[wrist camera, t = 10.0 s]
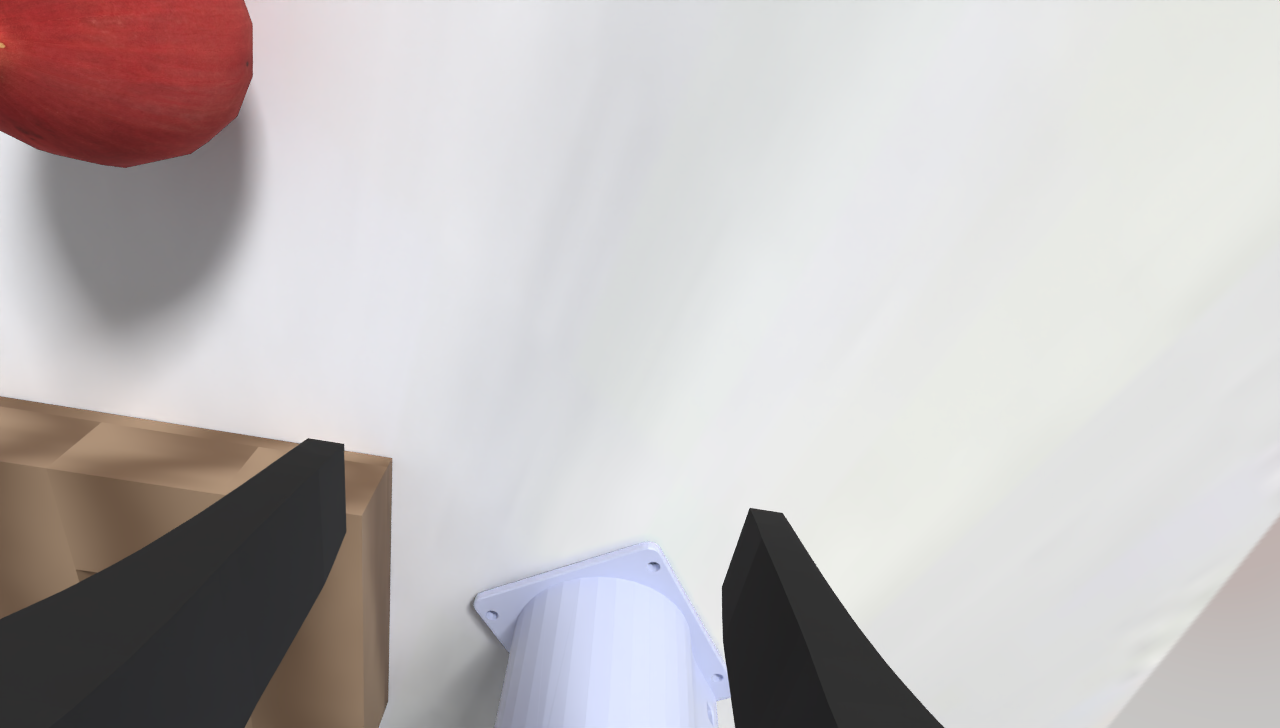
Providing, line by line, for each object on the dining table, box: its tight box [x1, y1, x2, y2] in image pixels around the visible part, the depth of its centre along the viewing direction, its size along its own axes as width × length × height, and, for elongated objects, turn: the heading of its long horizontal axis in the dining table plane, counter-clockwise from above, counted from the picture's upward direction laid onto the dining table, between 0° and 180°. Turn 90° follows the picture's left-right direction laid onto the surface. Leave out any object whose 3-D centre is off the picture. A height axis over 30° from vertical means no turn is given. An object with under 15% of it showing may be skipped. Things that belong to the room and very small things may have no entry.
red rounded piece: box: [0, 0, 253, 168], centre depth 14 cm, size 6×6×8 cm
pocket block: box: [0, 397, 392, 728], centre depth 27 cm, size 14×14×3 cm
